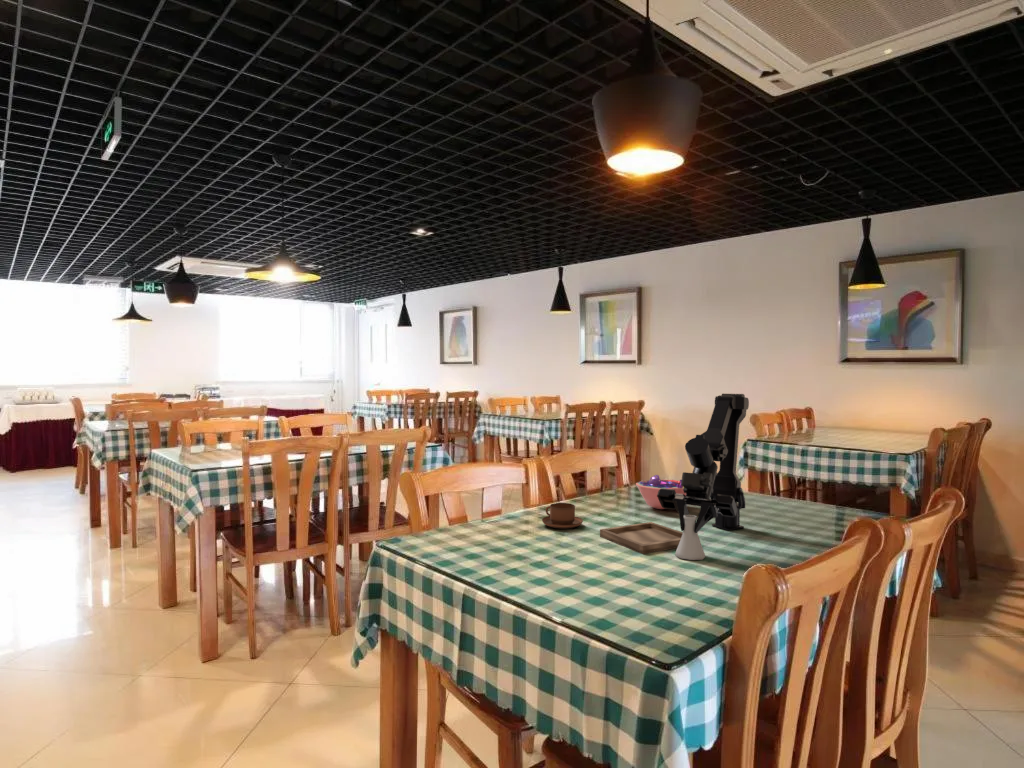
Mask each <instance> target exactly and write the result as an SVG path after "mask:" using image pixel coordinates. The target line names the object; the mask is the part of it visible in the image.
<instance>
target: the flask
mask: <svg viewBox="0 0 1024 768" xmlns="http://www.w3.org/2000/svg"><path fill="white" fill-rule="evenodd" d="M697 518H698V515H695V514H689V515H684V519H685V525H684V530H683V531H682V532H683V534H682V537H681V540H680V542H679V545H678V547H677V548H676V551H675V554H674V555H675V556H676V557H677V558H678V559H683V560H689V561H697V560H698V561H699V560H700V561H701V560H704V559H705V558H706V554H705V550H704V548H703V546H702V542H701V540H700V537H699V533H698V532H697V533H695V532H694V528H695V524H696V521H697Z"/></svg>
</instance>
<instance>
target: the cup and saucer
mask: <svg viewBox="0 0 1024 768" xmlns="http://www.w3.org/2000/svg"><path fill="white" fill-rule="evenodd" d="M548 511H549V512H548ZM545 513H546V515H547V516H545V517H543V518H541V521H542V523H543V524H544V525H545V526H547V527H549V528H554V529H560V530H562V529H565V530H567V529H573V528H577V527H579V526H581V525H582V524H583V523H584V521H583V519H582V518H581V517H579V516H576V515H575V514H576V505H575V504H573V503H568V502H554V503H551V504H550V505H549V506H547V507H546V508H545Z"/></svg>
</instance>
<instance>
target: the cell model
mask: <svg viewBox="0 0 1024 768" xmlns="http://www.w3.org/2000/svg"><path fill="white" fill-rule="evenodd" d="M681 480H682V479H679V480H675V479H665V478H664V479H661V477H660V475H659V474H655V475H653V476H651V477H650V478H649V480H641V481H638V482H636V483H635V485H636V487H637V489H638V491H639V492H640V494H641V496H642V498H643V499H644V502H645V504H646V505H647V506H649V507H651V508H654V509H657V510H665V509H664V508H663V507H662V506H661V504H660V502H659V499H658V497H657V494H658V491H659V490H660V489H661V488H666V489H675V492H676V493H677V494H684V495H685V496H686V493H684V491H683V489H684V487H683V486H681Z"/></svg>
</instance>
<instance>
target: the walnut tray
mask: <svg viewBox="0 0 1024 768" xmlns="http://www.w3.org/2000/svg"><path fill="white" fill-rule="evenodd" d="M682 534H683V531H680V530H677V529H674V528H670V527H667V526H664V525H662V524H658V523H656V522H653V521H649V522H648V521H647V522H643V523H642V522H641V523H635V524H627V525H621V526H613V527H608V528H601V529H599V537H600V538H602V539H604V540H606V541H610V542H612V543H615V544H617V545H620V546H623V547H625V548H627V549H629V550H631V551H634V552H637V553H639V554H642V555H644V554H651V553H655V552H662V551H668V550H674V549H677V547H678V545H679V542H680V540H681V537H682Z"/></svg>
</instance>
